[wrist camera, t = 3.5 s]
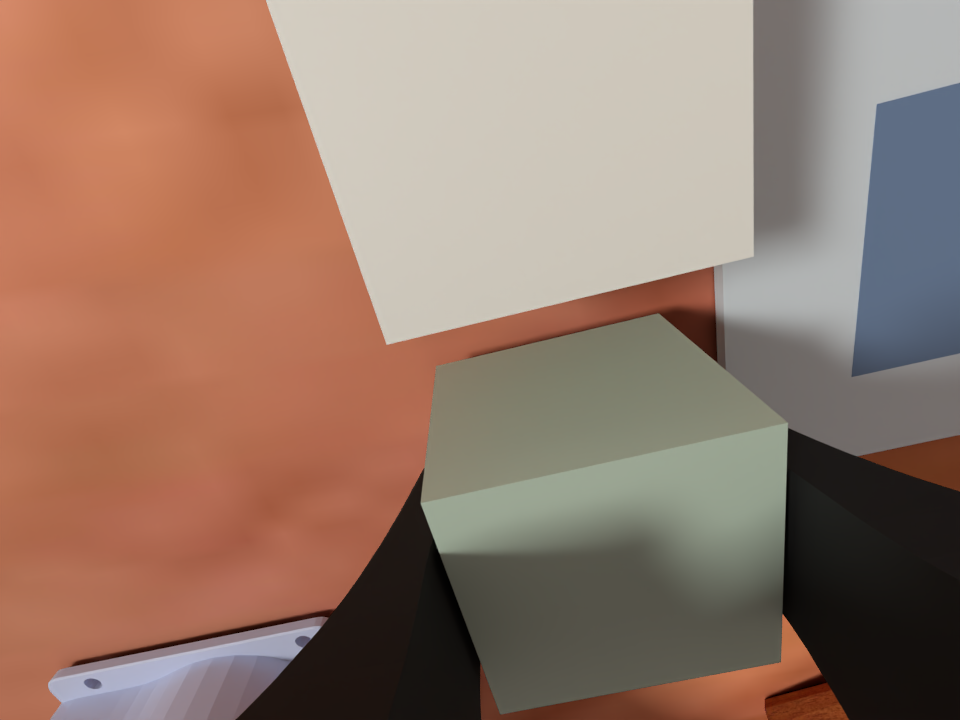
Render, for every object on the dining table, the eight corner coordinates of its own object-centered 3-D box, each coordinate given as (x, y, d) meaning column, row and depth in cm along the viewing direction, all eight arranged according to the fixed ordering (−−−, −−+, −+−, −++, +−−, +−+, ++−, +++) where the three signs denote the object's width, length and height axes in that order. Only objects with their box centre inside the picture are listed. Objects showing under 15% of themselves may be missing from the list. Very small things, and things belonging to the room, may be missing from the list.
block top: (416, 267, 11) (387, 344, 7) (335, 2, 9) (220, -127, 5) (637, 212, 10) (754, 256, 6) (609, -78, 8) (752, -295, 4)
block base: (487, 530, 13) (499, 714, 9) (436, 366, 11) (420, 503, 7) (675, 491, 12) (781, 662, 8) (658, 313, 10) (788, 423, 6)
